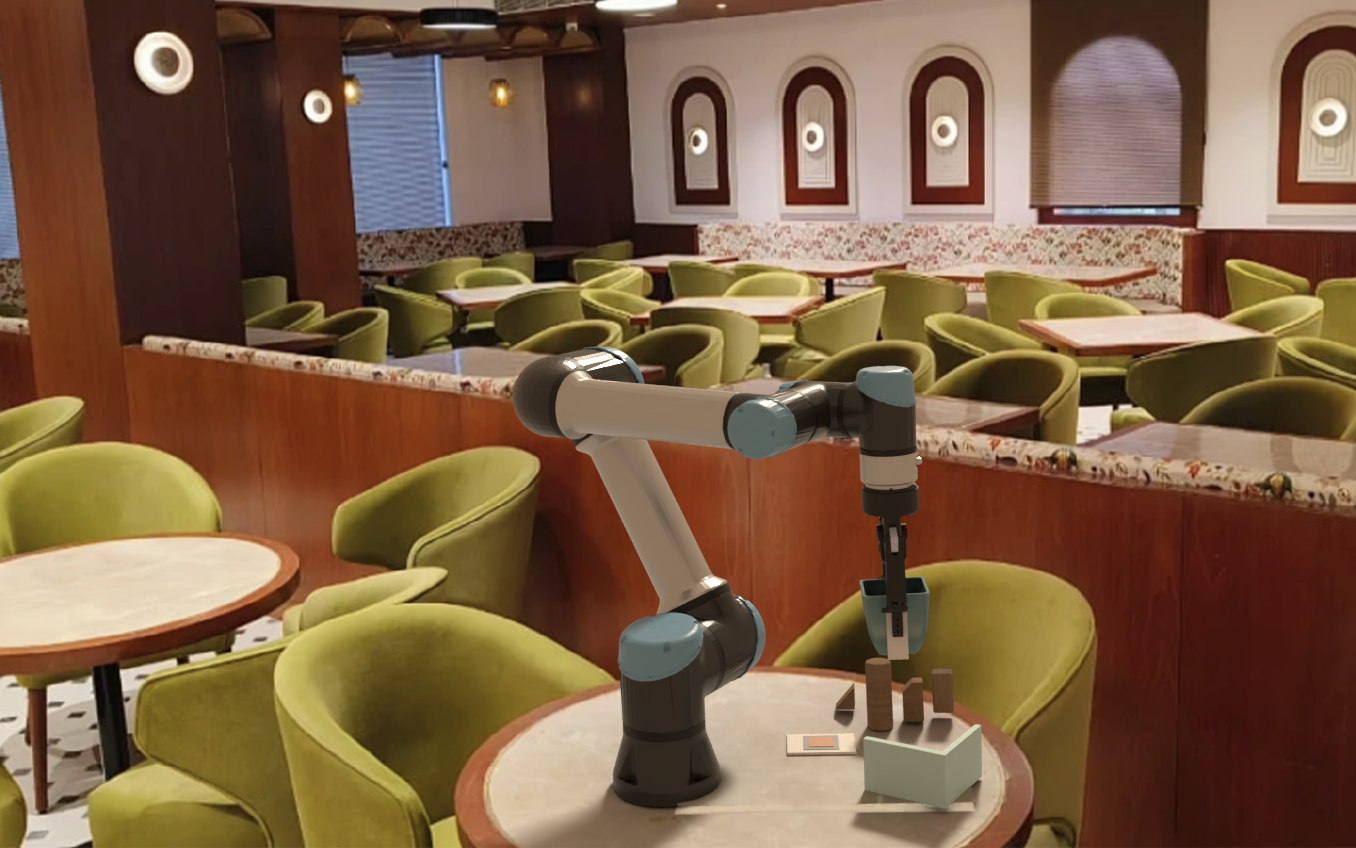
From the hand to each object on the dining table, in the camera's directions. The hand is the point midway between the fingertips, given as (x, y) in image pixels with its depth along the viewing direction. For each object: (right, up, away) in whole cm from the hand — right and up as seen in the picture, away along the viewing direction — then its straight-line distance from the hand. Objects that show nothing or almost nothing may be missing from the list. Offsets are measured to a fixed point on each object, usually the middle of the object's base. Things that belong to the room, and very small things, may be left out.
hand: (896, 647), depth 197 cm
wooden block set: (+4, -16, +26) cm, 31 cm away
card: (-8, -17, +19) cm, 27 cm away
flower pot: (0, -1, 0) cm, 1 cm away
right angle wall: (+4, -20, +4) cm, 21 cm away
